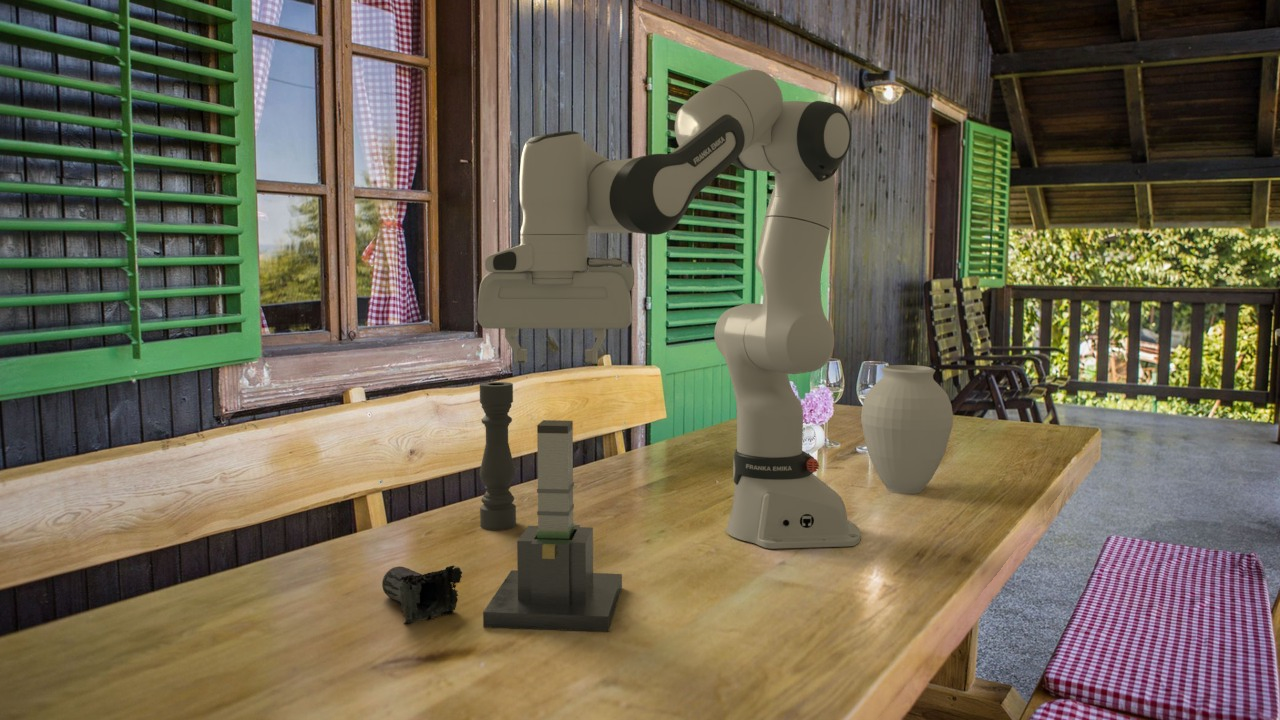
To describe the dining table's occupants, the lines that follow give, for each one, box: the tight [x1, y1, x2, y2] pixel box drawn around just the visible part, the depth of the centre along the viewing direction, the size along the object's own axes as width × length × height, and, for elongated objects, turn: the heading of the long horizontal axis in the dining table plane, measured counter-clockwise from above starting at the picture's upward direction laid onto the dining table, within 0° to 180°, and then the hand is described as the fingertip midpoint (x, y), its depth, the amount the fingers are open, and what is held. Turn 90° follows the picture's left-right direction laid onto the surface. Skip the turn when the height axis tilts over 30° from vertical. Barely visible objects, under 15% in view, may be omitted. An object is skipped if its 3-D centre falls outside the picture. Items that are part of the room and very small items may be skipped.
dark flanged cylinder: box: [381, 565, 463, 625], centre depth 126 cm, size 9×8×12 cm
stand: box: [482, 524, 623, 633], centre depth 126 cm, size 16×16×10 cm
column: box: [536, 419, 575, 540], centre depth 125 cm, size 4×4×17 cm
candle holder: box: [479, 381, 517, 531], centre depth 163 cm, size 6×6×25 cm
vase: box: [860, 364, 954, 495], centre depth 189 cm, size 18×18×25 cm
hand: (555, 363), depth 124 cm, fingers open, 8 cm apart
